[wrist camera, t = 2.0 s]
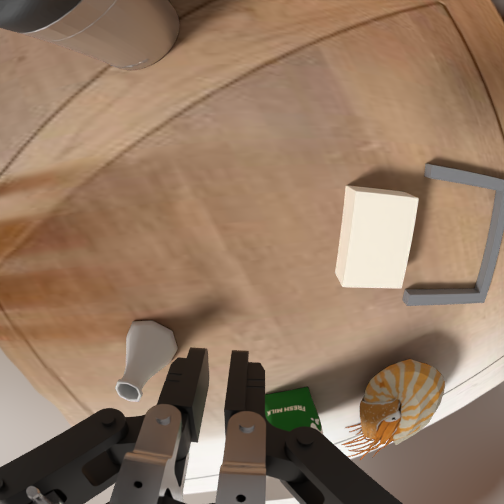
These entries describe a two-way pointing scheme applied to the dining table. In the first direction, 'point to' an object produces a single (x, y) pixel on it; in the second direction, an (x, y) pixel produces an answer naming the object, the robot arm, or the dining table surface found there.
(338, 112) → the dining table surface
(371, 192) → the carton
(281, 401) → the milk carton
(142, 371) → the flask
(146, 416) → the robot arm
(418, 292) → the u-shaped bracket
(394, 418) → the nautilus
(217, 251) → the dining table surface
